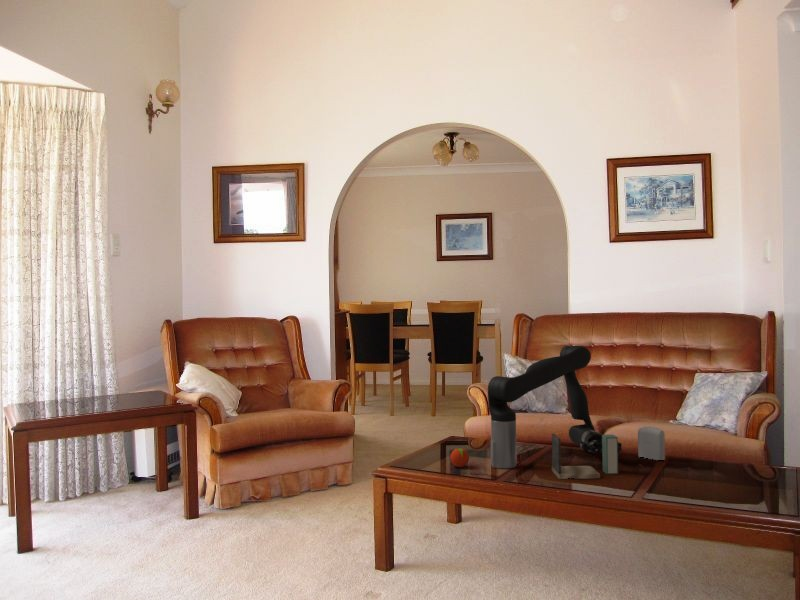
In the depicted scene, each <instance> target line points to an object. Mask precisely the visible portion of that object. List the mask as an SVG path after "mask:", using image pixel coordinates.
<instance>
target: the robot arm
mask: <svg viewBox="0 0 800 600" xmlns="http://www.w3.org/2000/svg"><path fill="white" fill-rule="evenodd" d="M591 359H592V355H591V352H590V350H589V349H588V348H587V347H586V346H582V345H565V346H563V347H562V348H561V350H560V352H559V355H557V356H553V357H548V358H543V359H540V360H538V361H536V362H532V364H530V365H529V366H528V367H527V368H526V370H525V372H523V374H519V375H516V376H514V377H513V376H512V377H511V376H510V377H508V376H501V375H500V376H493V377H492V378H490V380H489V381H488V385H487V402H488V405H487V406H488V411H489V415H490V427H491V428H490V432H491V434H490V435H491V436H490V438H491V439H490V465H491V466H492V468H493V469H494V468H496V469H513V468H516V467H517V464H518V463H517V462H518V461H517V414H516V412H515V411H514V410H513V409H512V408H510V406H509V405H508V403H513V402H515V401H517V400H519V399H520V398H522V397H523V396H525V395H526V394H528V393H530V392H531V391H534V390H536V389H538V388H540V387H543V386H545V385H548V384H549V383H551V382H553V381H555V380H557V379H559V378H561V377H564V382H565V384H566V389H567V391H568V396H569V397H568V398H569V406H570V407H569V408H570V413H571V414H570V415H571V418H572V419H573V420H576V421H577V420H578V421H583V422H584V424H576V425H572V426H571V427H569V430H568V436H569V439H570V440H571V442H573V443H574V444H576V445H580V447H579V448H580V449H581V450H582V452H587V451H588V452H591V453H592V454H601V453H602V435H603V434H601V433H599V431H596V429H595V426H594V424H593V423H592V419H591V416H590V411H589V403H588V398H587V394H586V392H585V391H584V389H583V387H582V385H581V384H580V381H579V380H578V377H577V373H576V371H578V370H582V369H584V368H586V367H587V366H588V365H589V364H590V362H591ZM622 449H623V447H622V443H621V442H619V441H618V454H619V453H620V452H621V451H622Z"/></svg>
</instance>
